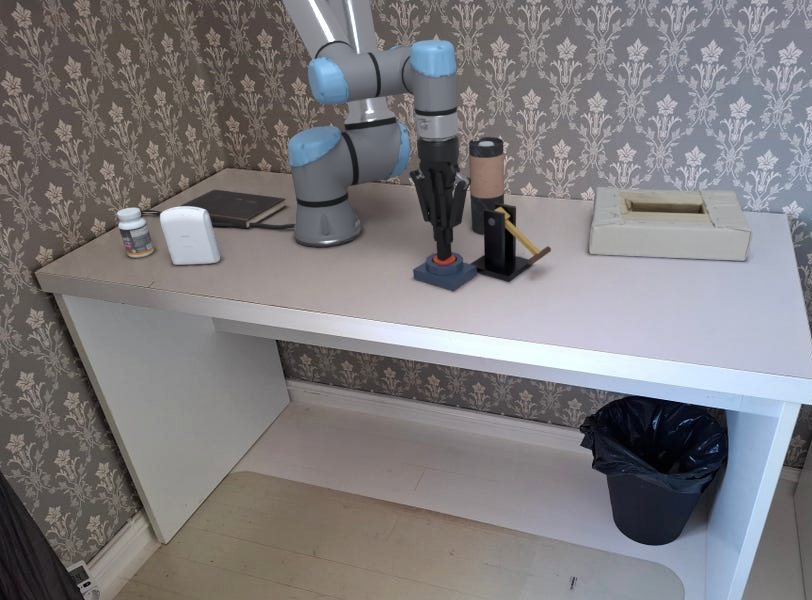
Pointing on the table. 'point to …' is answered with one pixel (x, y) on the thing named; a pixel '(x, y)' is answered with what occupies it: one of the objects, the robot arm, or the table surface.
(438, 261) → the red button
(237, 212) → the hardcover book
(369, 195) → the table surface
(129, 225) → the pill bottle
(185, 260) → the photo printer
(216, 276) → the table surface
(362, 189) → the table surface
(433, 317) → the table surface
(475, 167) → the travel mug
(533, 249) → the tap lever
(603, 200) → the box
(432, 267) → the button box
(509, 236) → the tap bracket
